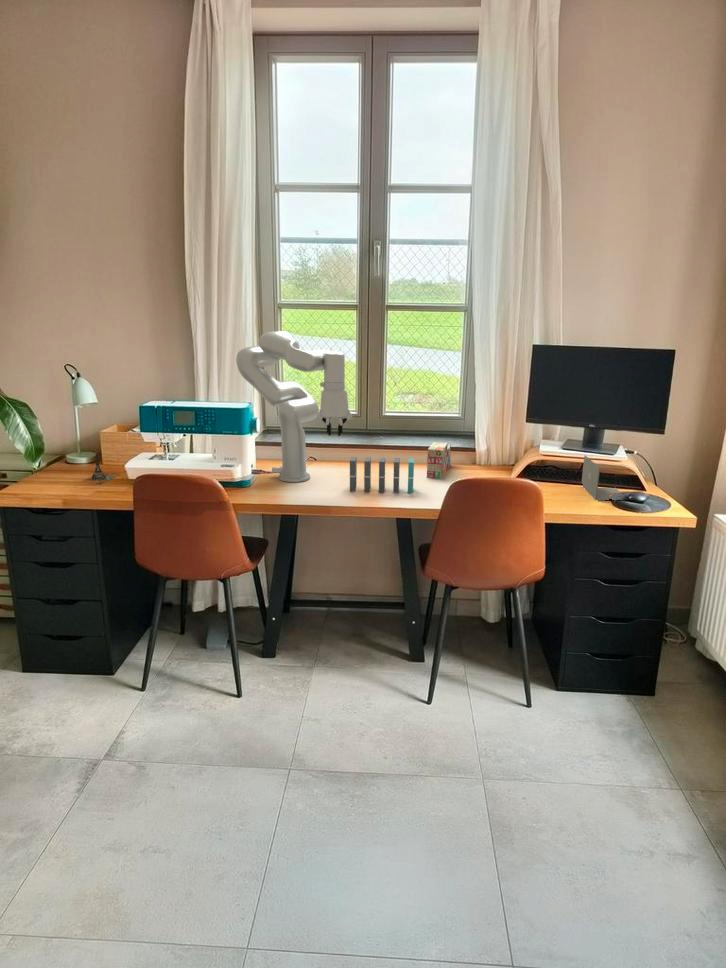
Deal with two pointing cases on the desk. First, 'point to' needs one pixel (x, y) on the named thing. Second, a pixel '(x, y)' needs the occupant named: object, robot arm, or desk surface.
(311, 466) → the desk surface
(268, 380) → the robot arm
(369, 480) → the domino
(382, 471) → the domino
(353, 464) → the domino
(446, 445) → the stack of blocks
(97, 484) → the eiffel tower figurine
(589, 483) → the laptop
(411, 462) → the teal domino
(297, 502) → the desk surface
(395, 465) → the domino
